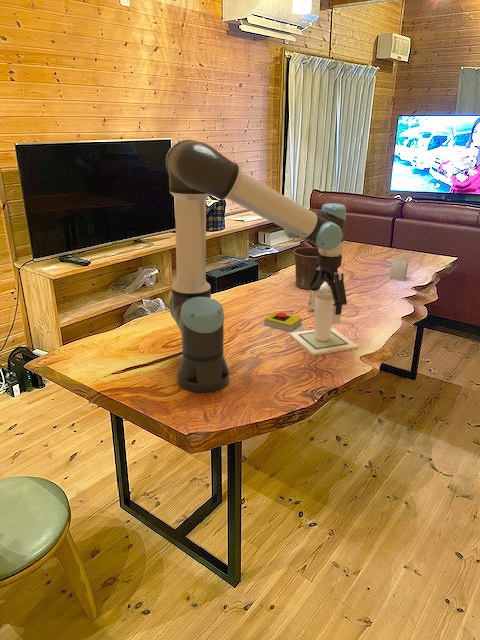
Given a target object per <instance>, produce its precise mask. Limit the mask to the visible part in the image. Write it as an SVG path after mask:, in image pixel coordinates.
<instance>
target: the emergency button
mask: <svg viewBox="0 0 480 640" xmlns="http://www.w3.org/2000/svg"><path fill="white" fill-rule="evenodd" d="M302 320H303V319H302V317H301V316H297V315H294V314H289V313H285V312H281V311H274V312H272V313H270V314H268V315H267V316H265V317H264V321H262V322H260V324H261V325H262V326H266V327H270V328H271V329H272V328H273V329H276V330H280V331H284V332H288V333H293V332H300V331H303V329H304V327H305V328H306V327H307V326H308V325H307V324H305V323H302Z"/></svg>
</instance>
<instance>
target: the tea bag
mask: <svg viewBox="0 0 480 640" xmlns="http://www.w3.org/2000/svg"><path fill="white" fill-rule="evenodd" d="M408 267H409V259H404V258H398V257H393V258H392V263H391V267H390V272H389V279H390V280H395V281H400V282H404V281H406V280H407V274H408V273H407V272H408Z"/></svg>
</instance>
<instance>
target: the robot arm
mask: <svg viewBox="0 0 480 640" xmlns="http://www.w3.org/2000/svg"><path fill="white" fill-rule="evenodd" d="M165 167H166V171H167V174H168V183H169V185H168V186H169V188H168V190H169V193H170V194H171V196H172V197H173V198H174V204H175V205H174V207H175V209H174V211H175V212H174V214H175V256H176V257H175V260H176V261H175V263H176V267H175V269H176V281H175V282H174V283H172V284H171V295H170V298H169V304H168V305H169V312H170V315H171V317H172V318H173V320H174V321H175V323H176V325H177V327H178V329H179V330H180V333H181V345H182V346H181V348H182V349H181V350H182V356H181V359H180V363H179V365H178V369H177V372H176V379H177V384H178V385H179V386H180V387H181V388H183V389H184V390H187V391H191V392H195V393H210V392H215V391H218V390H220V389H222V388H224V387H225V386H227V385H228V384H229V382H230V369H229V366H228V364H227V361H226V358H225V354H224V336H225V335H224V334H225V333H224V331H225V330H224V329H225V328H224V326H225V323H224V322H225V314H224V308H223V306H222V304H221V302H219V301H218V300H217V299H214V298H211V295H212V294H211V292H212V290H211V289H212V287H211V284H210V283H209V282H208V281H207V276H206V275H207V273H206V272H207V270H206V269H207V268H206V267H207V266H206V265H207V259H206V258H207V198H208V197H209V196H211V197H212V196H213V197H214V198H217V199H219V200H221V201H225V200H226V199H227V200H229V201H231V202H233V203H235V204H237V205H239V206H241V207H243V208H245V209H246V210H248V211H250V212H252V213H254V214H256V215H258V216H260V217H262V218H264V219H265V220H267V221H268V222H272V224H275V225H277V226H279V227H281V228H283V231H284V232H283V233H284V234H285V236H286V237H287V238H289V239H299V238H300V239H303V240H304V241H307V242H309V243H310V244H313V245H315V246H316V247H317V248H319V250H318V251H319V254H318V263H316V264H315V269H314V272H313V274H312V277H311V279H310V282H309V287H311V290H310V291H312V300H311V306H310V310H314V304H315V296H316V295H319V294H320V290H318V289H320V287H321V285H322V284H323V283H324V281H326V283H328V286H330V289H331V292H332V295H333V299H334V302H335V303H334V304H333V311H332V322H331V323H332V325H334V324H340V323H341V315H342V310H343V306H345V305H348V302H347V293H346V288H345V282H344V280H345V279H344V278H345V277H344V276H345V275H344V273H342V272H341V273H339V272H338V271H339V268H340V267H342V261H343V255H342V254H343V249H344V240H345V232H346V231H345V230H346V222H347V206H345V205H344V204H341V203H334V202H333V203H332V202H331V203H329V202H328V203H324V204H323V205H322V206H321V210H320V211H312V210H310V209H308V208H306V207H304V206H303V205H302V204H300V203H298V202H296V201H295V200H293V199H291V198H289V197H287V196H285V195H284V194H281V193H280V192H278V191H276V190H275V189H273V188H271V187H270V186H268V185H266V184H264V183H262V182H261V181H258V180H257V179H255V178H254V177H252V176H251V175H248V174H246V173H245V172H243V171H242V170H241V166H240V165H239V164H238V163H235V161H234V162H233V161H232V160H230V159H229V158H228V157H226V156H225V155H223V154H222V153H221V152H219V151H218V150H216V149H215V148H214V147H212V146H211V145H209V144H208V143H206V142H202V141H197V140H194V139H183V140H180V141H178V142H175V143H174V144H173V145H172V146H171V147H170V148H169V150H168V151H167V154H166V157H165ZM313 282H314V283H313Z"/></svg>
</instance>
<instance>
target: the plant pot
mask: <svg viewBox="0 0 480 640" xmlns="http://www.w3.org/2000/svg"><path fill="white" fill-rule="evenodd" d="M318 250H319V247H313V246H312V247H310V246H309V247H298V248H295V249H294V250H293V254H294V261H295V286H296V288H299V289H303V290H309V291H312V290H311V287H309V282H310V279H311V277H312V274H313V272H314V269H315V264H316V263H318V254H319V251H318ZM313 283H314V282H313Z"/></svg>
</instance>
